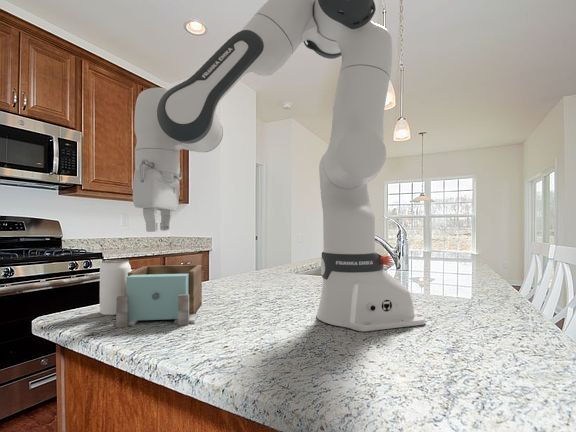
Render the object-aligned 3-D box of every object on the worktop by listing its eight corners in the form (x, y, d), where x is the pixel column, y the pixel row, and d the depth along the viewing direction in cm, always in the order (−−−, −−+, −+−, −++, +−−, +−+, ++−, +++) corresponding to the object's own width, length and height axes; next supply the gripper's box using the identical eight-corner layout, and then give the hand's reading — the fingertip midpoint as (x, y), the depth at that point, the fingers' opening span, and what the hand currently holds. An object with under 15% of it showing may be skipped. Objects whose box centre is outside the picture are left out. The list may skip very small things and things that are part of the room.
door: (188, 314, 71) (188, 273, 71) (184, 319, 67) (184, 276, 68) (131, 316, 70) (132, 274, 70) (124, 322, 66) (124, 278, 66)
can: (117, 316, 72) (117, 262, 72) (92, 315, 73) (93, 262, 74) (136, 309, 78) (136, 259, 79) (113, 307, 80) (113, 259, 80)
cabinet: (205, 303, 83) (205, 264, 83) (193, 324, 66) (193, 275, 66) (140, 305, 81) (140, 265, 81) (111, 327, 65) (111, 277, 65)
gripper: (158, 156, 59) (160, 232, 59) (183, 173, 80) (184, 229, 79) (122, 156, 59) (123, 233, 58) (156, 173, 79) (157, 230, 79)
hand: (158, 231), depth 69 cm, fingers open, 8 cm apart
